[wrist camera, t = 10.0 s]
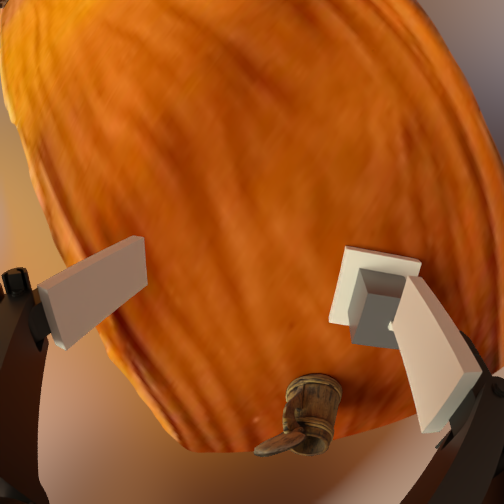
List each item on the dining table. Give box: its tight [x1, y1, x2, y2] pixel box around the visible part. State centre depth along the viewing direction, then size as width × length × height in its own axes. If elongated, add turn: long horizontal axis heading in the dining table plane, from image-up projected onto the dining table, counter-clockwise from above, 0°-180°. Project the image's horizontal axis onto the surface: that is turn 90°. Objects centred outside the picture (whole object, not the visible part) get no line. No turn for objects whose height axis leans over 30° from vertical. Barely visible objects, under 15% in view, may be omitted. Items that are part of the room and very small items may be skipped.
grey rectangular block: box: [348, 268, 406, 349], centre depth 28 cm, size 6×6×8 cm
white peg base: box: [329, 246, 422, 325], centre depth 30 cm, size 10×10×6 cm
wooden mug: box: [254, 374, 342, 457], centre depth 31 cm, size 9×14×18 cm, turn 33°
